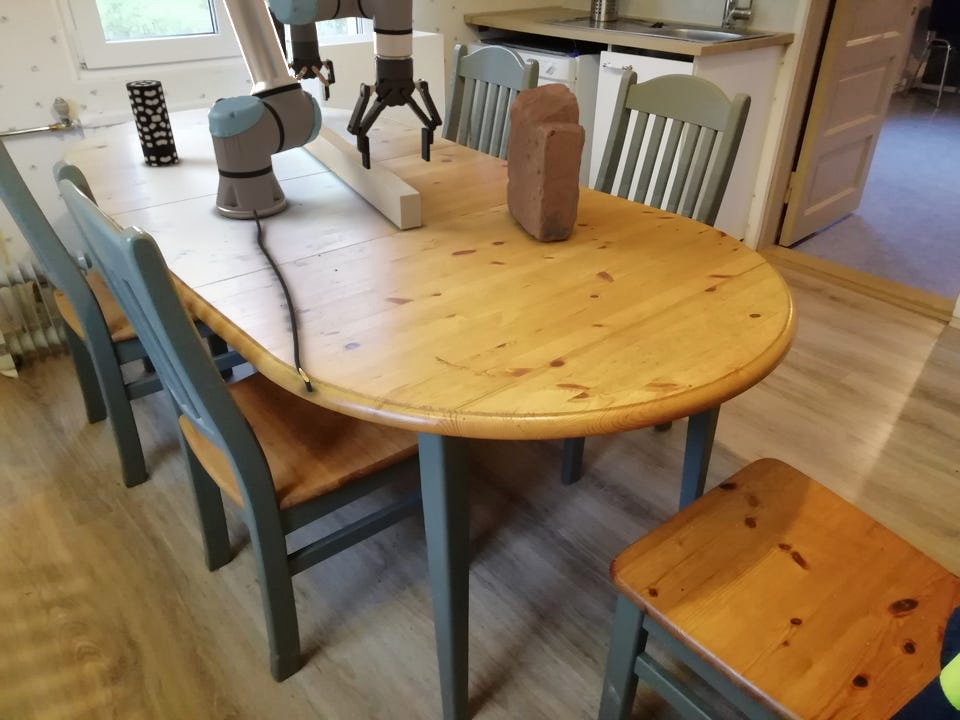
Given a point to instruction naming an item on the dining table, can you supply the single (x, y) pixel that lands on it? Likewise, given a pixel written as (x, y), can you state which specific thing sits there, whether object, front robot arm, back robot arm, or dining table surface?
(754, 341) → the dining table surface
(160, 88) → the polka dot cylinder
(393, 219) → the bar
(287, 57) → the back robot arm
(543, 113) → the stone
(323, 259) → the dining table surface
